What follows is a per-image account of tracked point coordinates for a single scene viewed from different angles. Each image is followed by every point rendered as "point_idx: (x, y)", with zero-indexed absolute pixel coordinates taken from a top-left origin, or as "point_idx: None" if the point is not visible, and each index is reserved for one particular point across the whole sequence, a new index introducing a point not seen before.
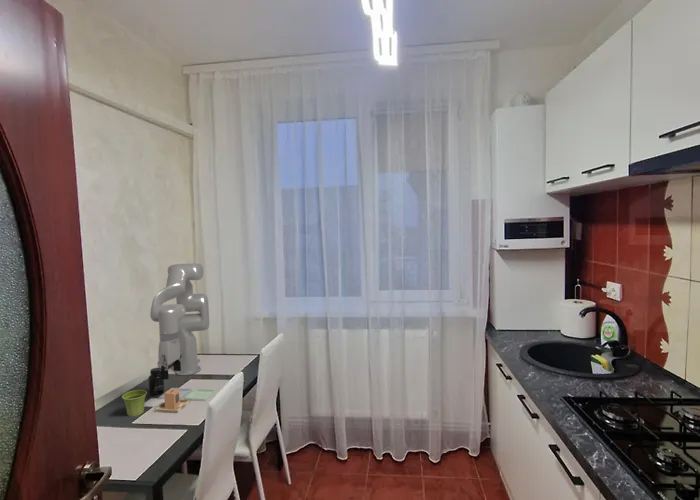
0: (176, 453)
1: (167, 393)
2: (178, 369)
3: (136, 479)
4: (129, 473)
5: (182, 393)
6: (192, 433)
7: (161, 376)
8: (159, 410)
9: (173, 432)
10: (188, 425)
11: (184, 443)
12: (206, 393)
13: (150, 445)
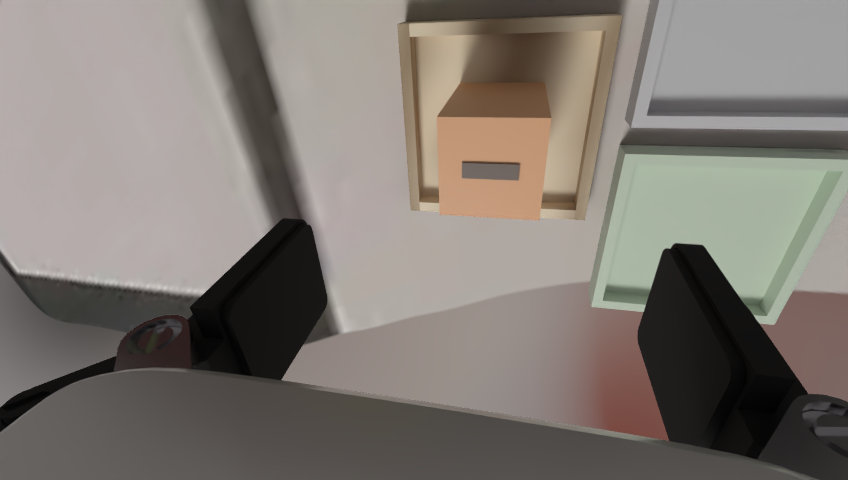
0: None
1: (439, 152)
2: (647, 337)
3: (19, 273)
4: (14, 240)
5: (807, 57)
6: None
7: (269, 244)
8: (401, 74)
9: None
10: None
11: None
12: (738, 265)
13: (141, 220)
